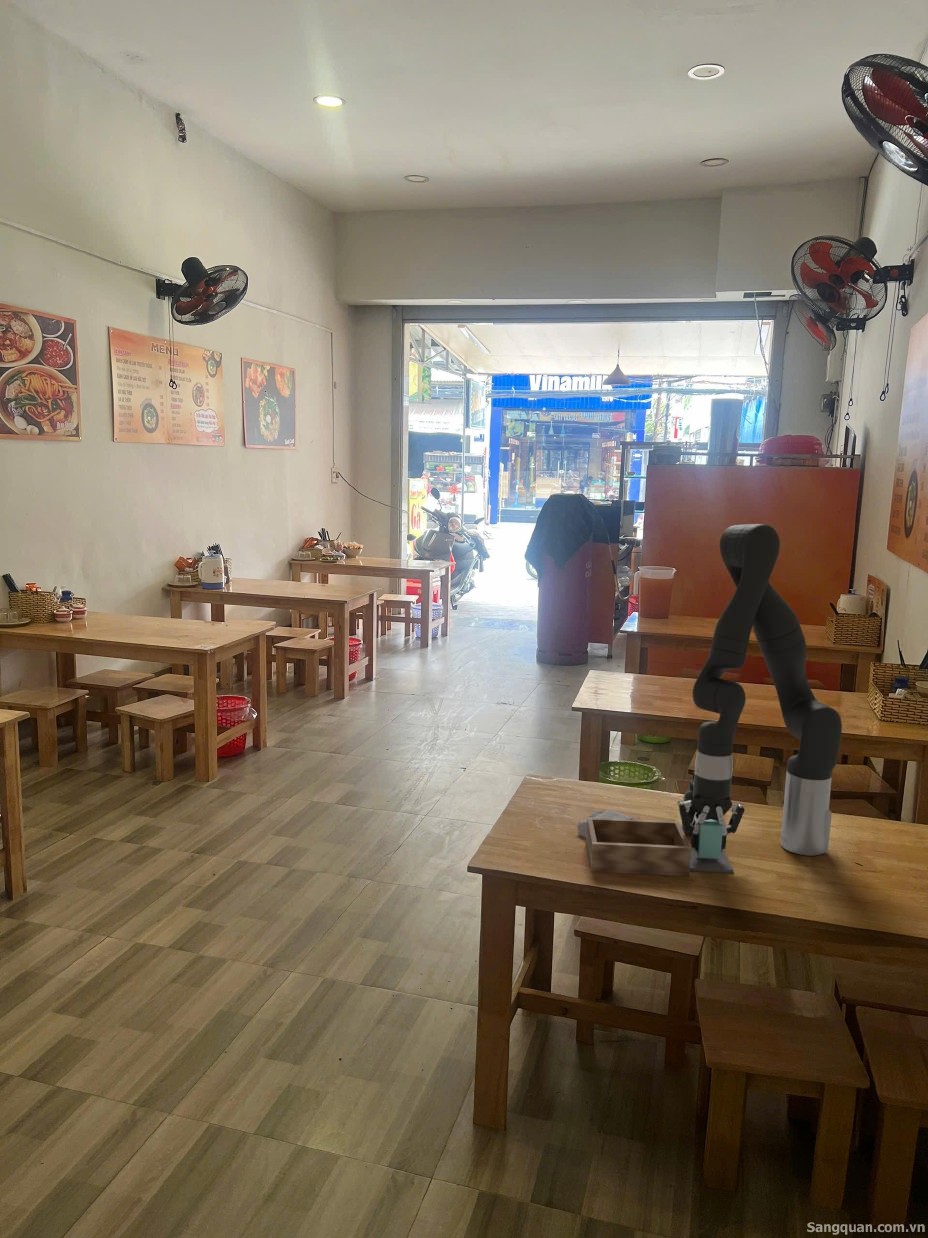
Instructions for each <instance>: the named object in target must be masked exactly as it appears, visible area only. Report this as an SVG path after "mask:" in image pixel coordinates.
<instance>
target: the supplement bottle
mask: <svg viewBox="0 0 928 1238" xmlns="http://www.w3.org/2000/svg"><path fill="white" fill-rule="evenodd" d="M693 787H694V778H693V779H690V780H689V784H688V790H687V791H686V792H685V793H684V795H683V802H685V801H689V800H690V799H691V797H692V795H693ZM695 813H696V811H695V810H694V808H693V807H692V806H690V808H689V812H687V816H688V820H689V823H690V824H692V823H693V820H694V816H695ZM681 827H682V829H683V832H684V834H685V835H688V836H690V837H691V832H690V831H686V830H685V829H684V826H683V824H682V823H681Z"/></svg>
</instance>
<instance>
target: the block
mask: <svg viewBox="0 0 928 1238" xmlns="http://www.w3.org/2000/svg"><path fill="white" fill-rule="evenodd" d="M722 833H723V826H722V825H719V823H718V821H717V820H712V819H709V820H704V823H703V824H700V830H699V833H698V834H699V844H698V851H696V852H697V854H698V856H699V857H709V858H721V846H722Z"/></svg>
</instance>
